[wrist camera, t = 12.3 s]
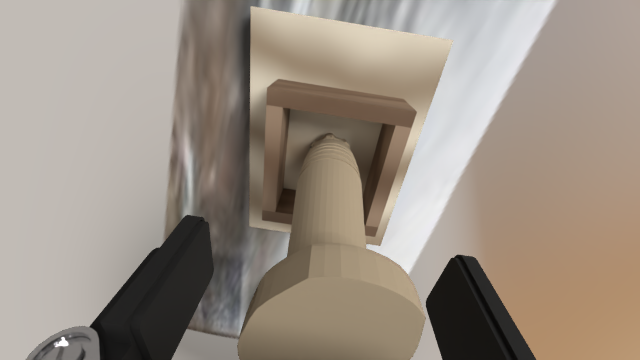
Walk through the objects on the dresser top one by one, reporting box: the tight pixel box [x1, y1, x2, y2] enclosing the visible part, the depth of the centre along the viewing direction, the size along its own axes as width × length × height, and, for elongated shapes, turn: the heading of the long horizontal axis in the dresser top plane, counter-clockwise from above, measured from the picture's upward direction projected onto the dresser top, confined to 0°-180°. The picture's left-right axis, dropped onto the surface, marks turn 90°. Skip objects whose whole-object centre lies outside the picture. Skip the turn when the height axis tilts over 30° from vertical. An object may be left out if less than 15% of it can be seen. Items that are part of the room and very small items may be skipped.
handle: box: [237, 133, 426, 360], centre depth 14 cm, size 5×6×15 cm
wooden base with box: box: [249, 6, 453, 246], centre depth 20 cm, size 18×13×5 cm
